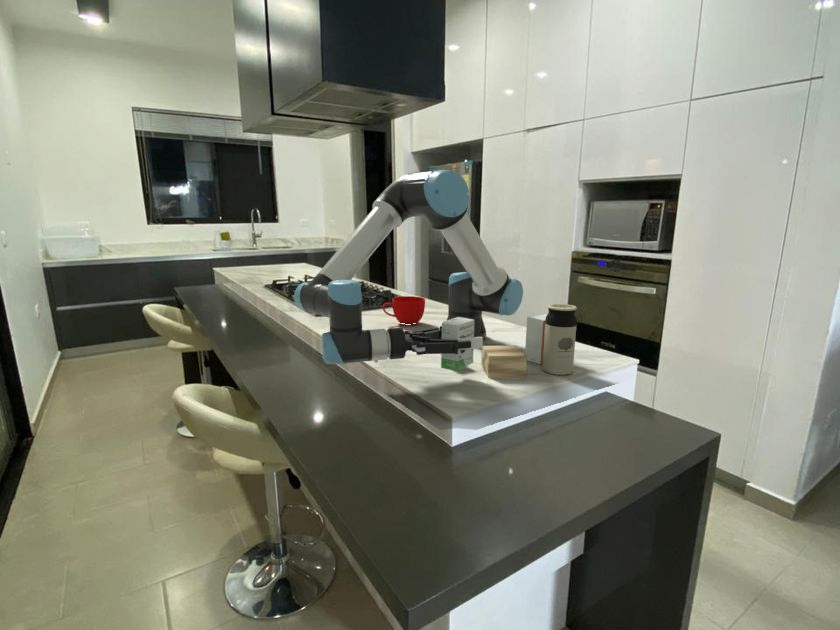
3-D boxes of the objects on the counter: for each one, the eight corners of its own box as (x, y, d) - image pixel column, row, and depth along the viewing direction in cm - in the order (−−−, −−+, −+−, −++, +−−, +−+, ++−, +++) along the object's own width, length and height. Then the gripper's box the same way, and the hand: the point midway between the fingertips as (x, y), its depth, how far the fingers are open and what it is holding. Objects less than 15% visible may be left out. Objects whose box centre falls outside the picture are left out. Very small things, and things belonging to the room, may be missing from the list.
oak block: (481, 366, 127) (481, 345, 125) (516, 365, 127) (517, 345, 126) (488, 378, 117) (488, 356, 116) (525, 377, 117) (527, 355, 116)
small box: (540, 365, 127) (543, 320, 125) (524, 359, 132) (526, 316, 130) (559, 360, 132) (562, 317, 129) (542, 355, 137) (545, 313, 134)
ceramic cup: (379, 322, 180) (379, 297, 178) (419, 319, 185) (419, 295, 183) (386, 329, 168) (386, 303, 166) (429, 326, 173) (429, 301, 171)
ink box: (456, 372, 109) (457, 325, 107) (439, 368, 112) (440, 322, 109) (474, 363, 116) (475, 318, 113) (457, 359, 119) (458, 316, 116)
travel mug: (540, 365, 127) (544, 303, 123) (569, 366, 126) (573, 303, 122) (544, 375, 119) (549, 308, 115) (575, 376, 118) (581, 309, 114)
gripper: (380, 346, 119) (460, 340, 125) (397, 373, 99) (491, 364, 104) (379, 319, 117) (460, 314, 123) (396, 340, 97) (492, 333, 103)
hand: (474, 337), depth 114 cm, fingers closed on ink box, 9 cm apart
